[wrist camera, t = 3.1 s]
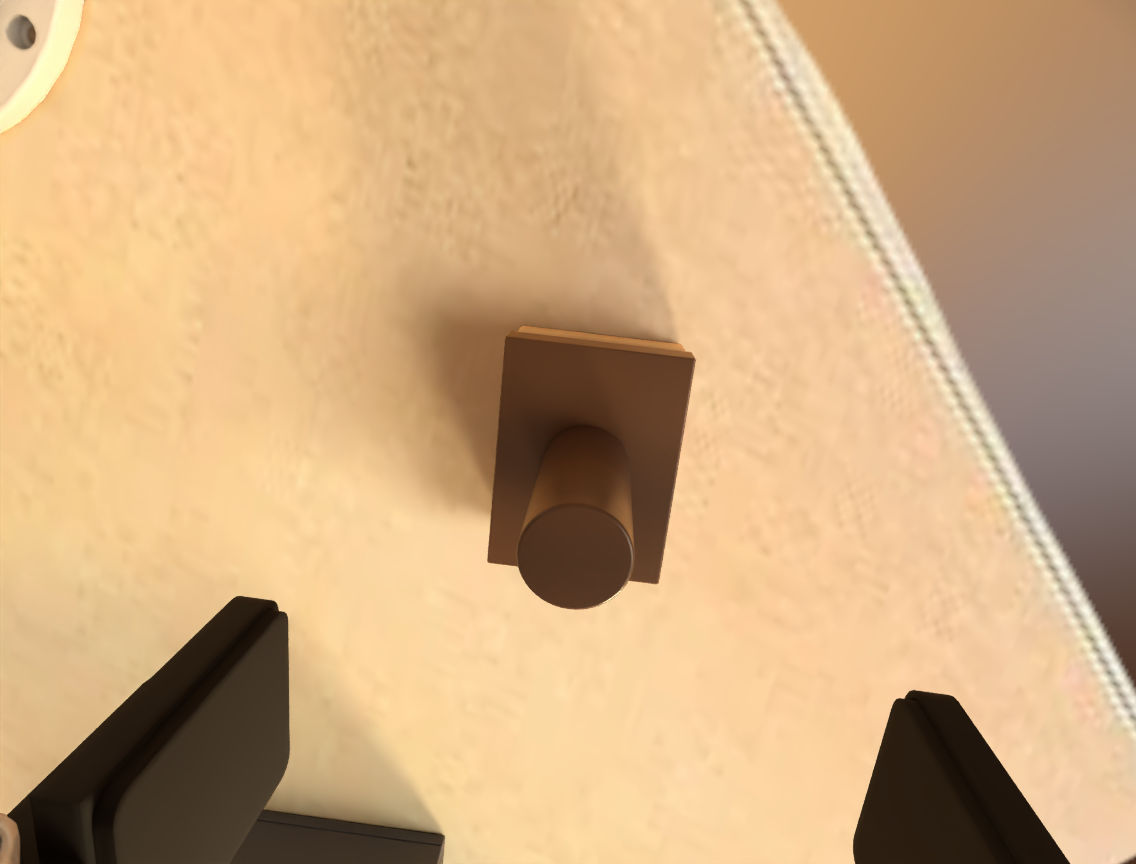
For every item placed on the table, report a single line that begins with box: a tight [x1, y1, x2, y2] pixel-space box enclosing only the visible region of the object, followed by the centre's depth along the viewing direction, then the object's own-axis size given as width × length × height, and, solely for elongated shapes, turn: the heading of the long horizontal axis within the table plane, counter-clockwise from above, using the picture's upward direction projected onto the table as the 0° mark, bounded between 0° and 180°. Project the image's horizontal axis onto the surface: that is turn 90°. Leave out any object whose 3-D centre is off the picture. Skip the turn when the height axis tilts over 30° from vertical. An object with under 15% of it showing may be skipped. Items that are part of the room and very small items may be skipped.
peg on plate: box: [487, 326, 696, 609], centre depth 19 cm, size 7×5×9 cm
